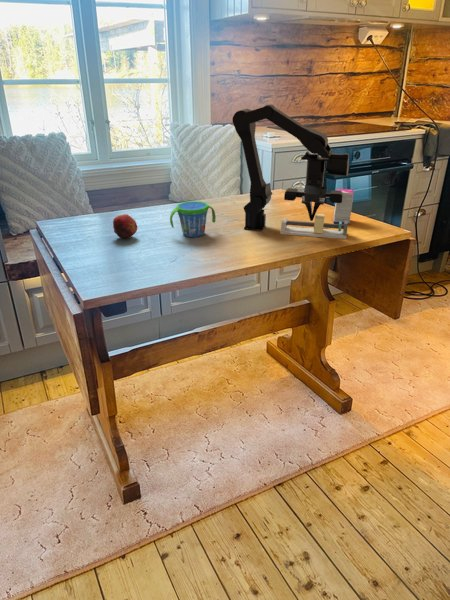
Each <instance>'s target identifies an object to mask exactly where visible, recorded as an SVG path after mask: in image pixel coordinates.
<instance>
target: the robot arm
mask: <svg viewBox="0 0 450 600" xmlns="http://www.w3.org/2000/svg"><path fill="white" fill-rule="evenodd" d="M231 120H232V124H233V127H234V129H235V132H236V133H237V136H238V137H239V139H240V140H241V144H242V148H243V154H244V157H245V162H246V167H247V171H248V177H249V181H250V188H249V202H248V203H246V204H245V206H243V211H244V212H245V214H244V215H245V216H244V217H245V218H244V220H245V221H244V224H245V225H244V227H243V229H244V230H251V231H263V229H264V228H265V227H266V221H267V220H266V219H267V216H266V213H265V209H264V208H266V206H267V205H268V204H269V203H270V201H271V200H272V195H274V194H273V191H272V190H271V189H272V188H271V187H272V186H271V182H268V183H267V182H266V181H265V178H264V177H263V170H262V166H261V162H260V157H259V156H260V155H259V151H258V147H257V141H256V135H255V134H256V125H257V124H256V122H259V121H262V120H268V121H269V122H271V123H273V124H274V125H276V126H277V127H279V128H280V129H282V130H283V131H285V132H287V133H288V134H290V135H291V136H293V137H294V138H296V139H297V140H298V141H299V142H300V144H301V145H303V147H304V148H305V149H307V151H306V152H305V153H304V154H303V156H301V157H300V159H301V160H302V161H304V160H305V161H306V171H305V172H306V173H305V185H304V189H303V191H299V188H295V187H294V188H289V187H288V188H287V189H285V192H284V194H283V195H284V201H292V202H293V201H295V200H296V199H297V198H300V199H302V200H301V204H304V206H305V207H306V210H307V213H308V217H309V222H314V220H315V216H316V214H317V211H318V209H319V207H320V206H321V205H324V204H325V200H329V202H330V203H332V204H336V203H342V196H343V192H342V191H337V190H336V189H335V190H334V189H333V190H332V189H331V190H330V193H329V192H327V190H328V189H327V188H328V187H327V186H324V182H325V181H324V180H325V172H326V173H327V174H328V176H337V177H339V176H340V177H348V175H349V169H350V153H349V152H348V153H335V152H334V151H333V150H332V148H331V146H330V144H329V138H328V136H327V135H326V133H324V132H322V131H319V130H316V129H314V128H310V127H308V126H305V125H303V124H301V123H300V122H299V121H297V120H295V119H293V118H292V117H291V116H289V115H288V114H287V113H284V112H283V111H281V109H278V108H276V107H275V105H273V104H266V105H264V106H262V107H259V108H256V109H253V110H252V109H249V108H244V109H241V110H237V111H235V113H234V115H233V116H232V119H231ZM313 203H314V205H313Z"/></svg>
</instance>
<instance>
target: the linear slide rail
mask: <svg viewBox="0 0 450 600" xmlns="http://www.w3.org/2000/svg"><path fill="white" fill-rule="evenodd" d="M314 222H315V221H300V220H299V221H298V220H288V218H282V220H281V224H280V235H291V236H299V237H300V236H301V237H302V236H303V237H312V238H313V237H315V238H325V239H326V238H327V239H328V238H329V239H341V240H344V239H345V240H346V239H347V233H348V226H349V224H348V221H344V224H342V222H339V224H336V223H329V222H328V223H327V222H324V225H323V234H322V233H314ZM295 226H296V227H295ZM307 227H309V228H307ZM324 228H325V229H324ZM337 229H338V230H337Z"/></svg>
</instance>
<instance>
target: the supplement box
mask: <svg viewBox="0 0 450 600" xmlns="http://www.w3.org/2000/svg"><path fill="white" fill-rule="evenodd" d="M336 191H342V192H343V196H342V203H334V204H335V205H334V211H333V212H334V213H333V220H332V221H333V224H339V222H342V224H344V221H348V225H349V224H350V222H351V221H350V220H351V215H352V209H353V200H354V193H355V192H354V190H353V189H347V188H337V190H336Z"/></svg>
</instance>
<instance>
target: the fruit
mask: <svg viewBox="0 0 450 600" xmlns="http://www.w3.org/2000/svg"><path fill="white" fill-rule="evenodd" d="M112 222H113V223H112V225H113V232H114V233H115V234H116V235H117V236H118V238H120V239H123V240H126V239H130V238H131V237H133V236H134V235H135V234H136V233H137V231H138V225H137V222H136V220H135V218H133V217H132V216H131V215H129V214H126V213H124V214H119V215H117V216H115V217H114V218H113V221H112Z"/></svg>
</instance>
